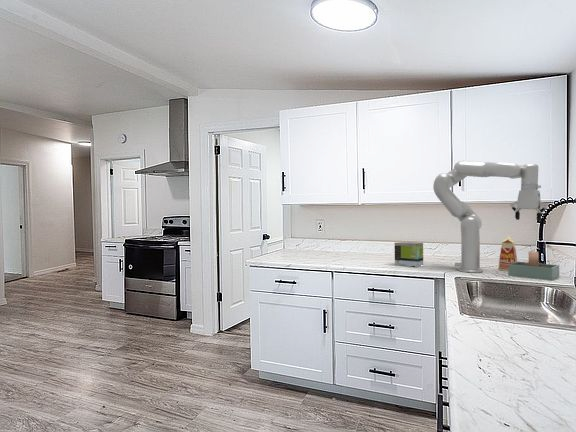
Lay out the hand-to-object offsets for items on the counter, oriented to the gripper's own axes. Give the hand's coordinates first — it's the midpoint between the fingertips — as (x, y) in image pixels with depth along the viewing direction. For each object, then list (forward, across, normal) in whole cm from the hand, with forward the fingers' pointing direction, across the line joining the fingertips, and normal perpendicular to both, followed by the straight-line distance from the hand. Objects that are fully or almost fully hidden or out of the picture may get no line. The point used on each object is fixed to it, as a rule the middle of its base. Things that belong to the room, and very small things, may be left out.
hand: (527, 220), depth 205 cm
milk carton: (+30, +12, -11) cm, 34 cm away
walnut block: (+28, -4, 0) cm, 29 cm away
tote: (+29, -4, 0) cm, 30 cm away
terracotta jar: (+22, -4, 0) cm, 23 cm away
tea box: (+32, +62, +13) cm, 71 cm away
